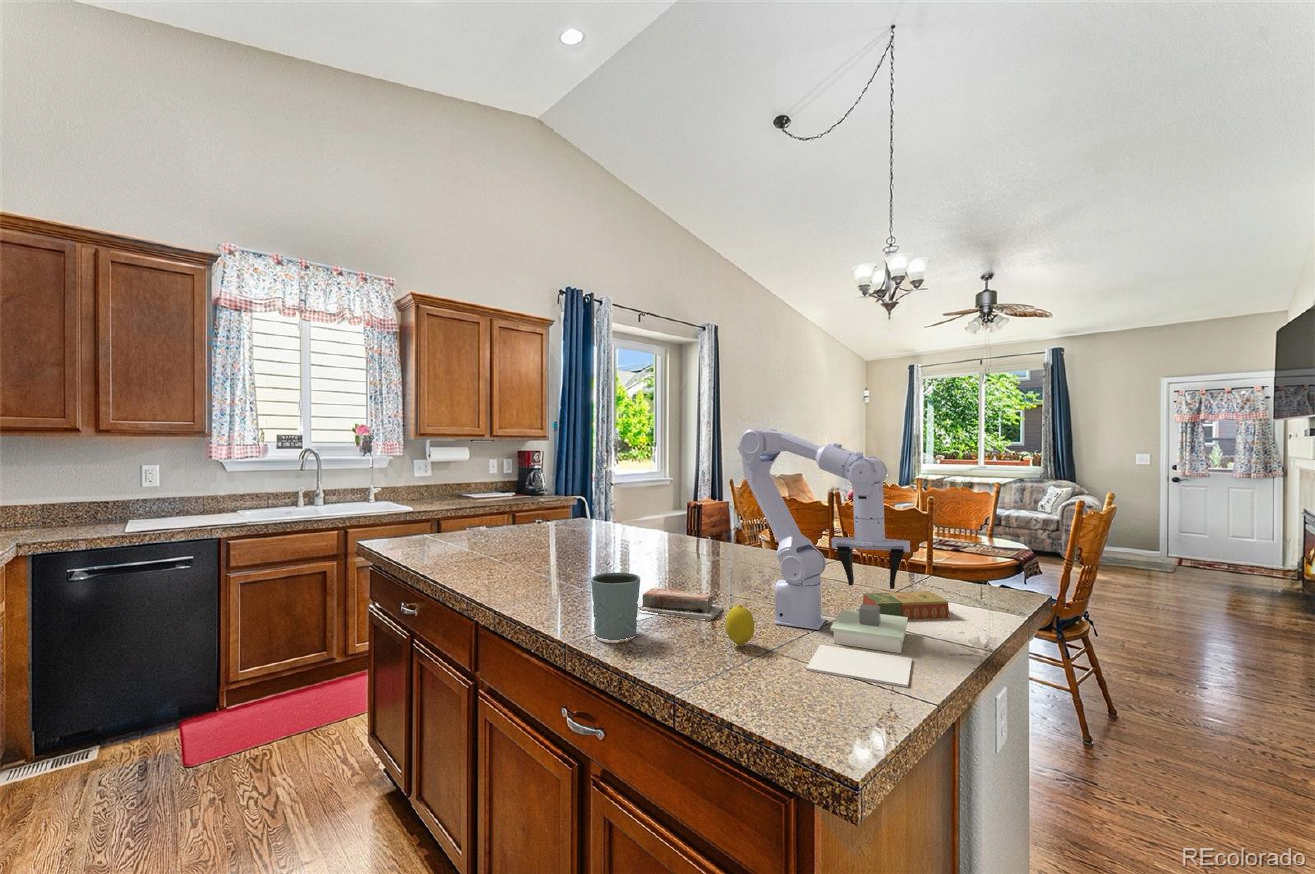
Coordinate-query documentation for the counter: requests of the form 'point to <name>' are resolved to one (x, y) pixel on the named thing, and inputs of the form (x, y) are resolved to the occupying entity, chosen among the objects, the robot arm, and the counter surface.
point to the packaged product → (680, 604)
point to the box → (868, 642)
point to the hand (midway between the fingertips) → (871, 586)
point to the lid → (870, 623)
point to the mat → (861, 665)
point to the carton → (909, 604)
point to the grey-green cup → (615, 605)
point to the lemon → (739, 625)
